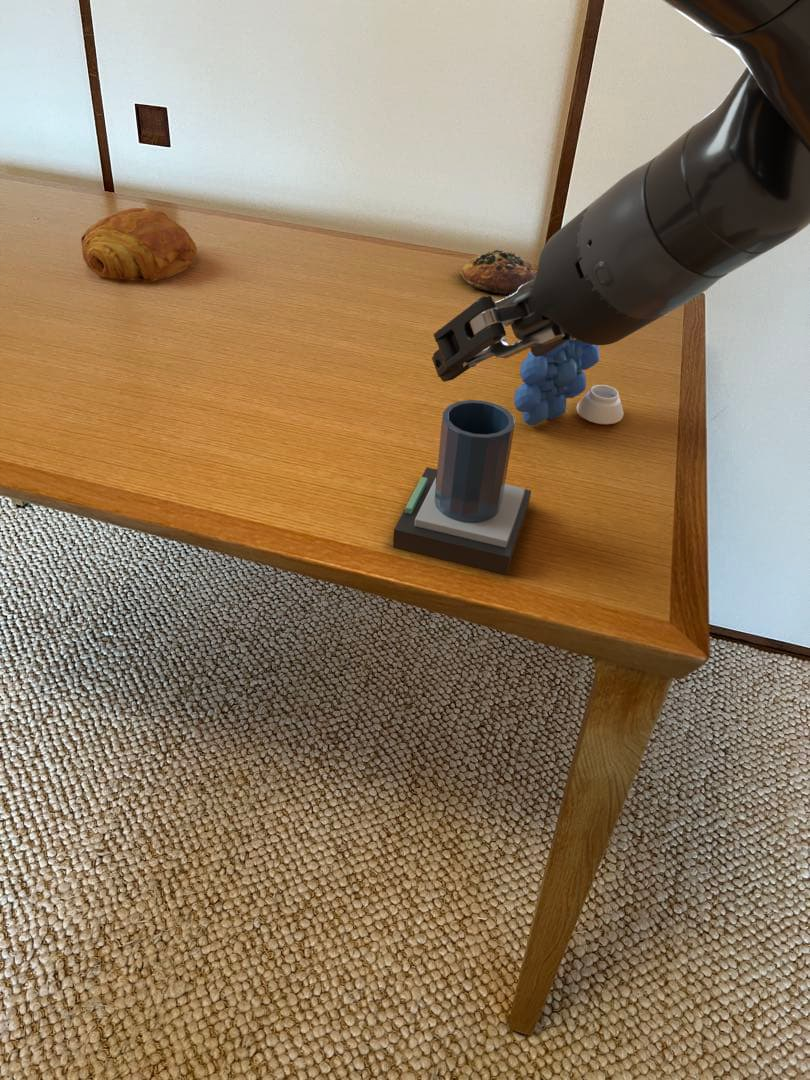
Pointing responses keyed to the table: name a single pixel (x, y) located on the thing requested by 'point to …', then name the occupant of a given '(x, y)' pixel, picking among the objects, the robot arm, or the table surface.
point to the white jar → (601, 405)
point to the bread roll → (498, 272)
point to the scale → (461, 529)
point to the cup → (473, 460)
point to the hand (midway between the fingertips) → (488, 355)
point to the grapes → (553, 380)
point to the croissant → (137, 246)
